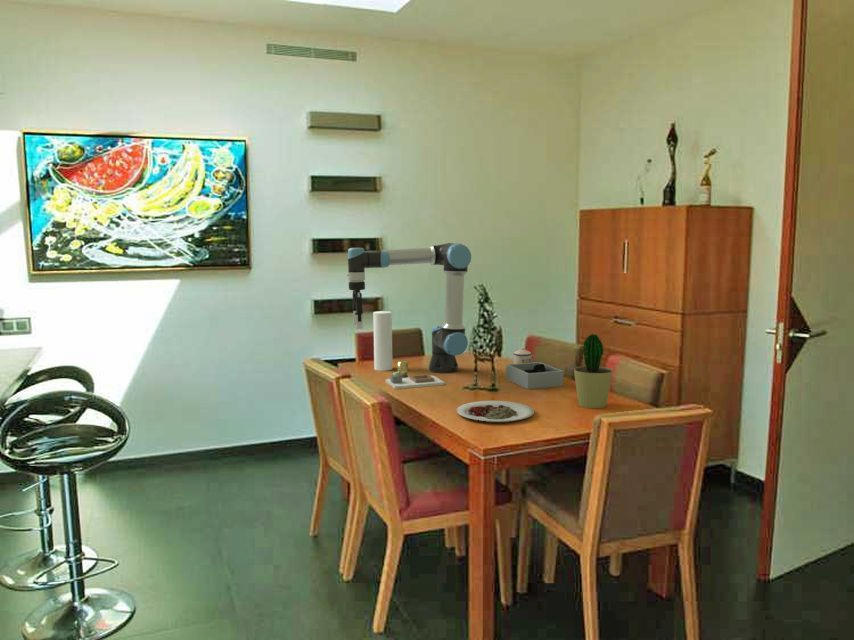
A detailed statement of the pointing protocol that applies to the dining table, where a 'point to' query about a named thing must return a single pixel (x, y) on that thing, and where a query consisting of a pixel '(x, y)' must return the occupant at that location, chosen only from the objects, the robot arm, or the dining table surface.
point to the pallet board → (414, 381)
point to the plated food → (495, 411)
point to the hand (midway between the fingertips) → (357, 326)
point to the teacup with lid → (523, 356)
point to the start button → (396, 374)
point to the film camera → (537, 369)
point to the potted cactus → (592, 376)
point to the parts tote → (534, 376)
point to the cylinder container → (382, 340)
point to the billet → (403, 368)
